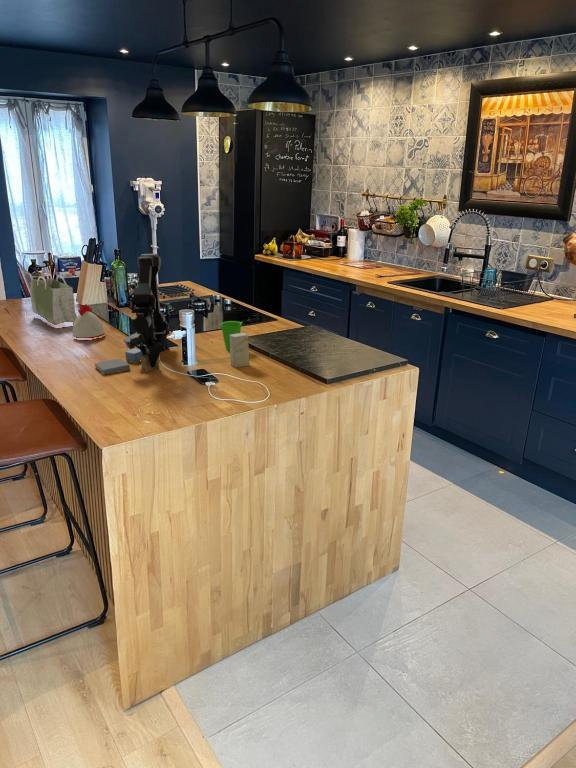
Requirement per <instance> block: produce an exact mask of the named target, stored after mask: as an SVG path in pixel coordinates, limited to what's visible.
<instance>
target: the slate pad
mask: <svg viewBox="0 0 576 768" xmlns="http://www.w3.org/2000/svg"><path fill="white" fill-rule="evenodd" d="M130 366H131V365H130V364H129V363H128V362H127V361H126V360H123V358H115V359H109V360H104V361H99V362H95V363H94V368H95V367H96V368H97V369H98V370H99V371H100V372H99V371H98V370H97V369H96V368H95V369H96V370H97V371H98V372H99V373H100V374H102V373H103V374H107V375H109V374H108V373H111V374H114V373H113V372H116V373H119V372H118V371H121V372H125V371H124V370H126V371H130V370H131V369H130V368H131V367H130ZM103 374H102V375H103Z"/></svg>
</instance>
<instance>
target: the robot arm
mask: <svg viewBox="0 0 576 768" xmlns="http://www.w3.org/2000/svg"><path fill="white" fill-rule="evenodd" d="M136 259H137V267H138V268H139V270H138V272H139V273H138V285H137V286H136V287H135V288H134V290H133V295H131V314H135V318H133V319H134V320H133V321H132V328H133V330H134V331H135V333H132V334H131V335H129V336H127V337H125V338H124V339H123V341H124V343H125V346H126V347H127V348H128V349H129V350H132V349H139V350H141V353H142V355H144V354H148V356H149V360H150V364H151V367H152V368H153V367H155V364H156V362H157V359H158V360H159V357H160V354H161V353H163V352H166V350H168V349H170V347H169V346H168V338H167V336H168V335H170V327H169V324H168V322H167V320H166V317H165V315H164V313H163V312H162V311H161V305H160V296H159V294H160V293H159V285H158V283H159V282H158V273H159V272H160V270H161V265H162V258H161V256H159V255H158V254H157V253H143V254H140V256H137V257H136Z"/></svg>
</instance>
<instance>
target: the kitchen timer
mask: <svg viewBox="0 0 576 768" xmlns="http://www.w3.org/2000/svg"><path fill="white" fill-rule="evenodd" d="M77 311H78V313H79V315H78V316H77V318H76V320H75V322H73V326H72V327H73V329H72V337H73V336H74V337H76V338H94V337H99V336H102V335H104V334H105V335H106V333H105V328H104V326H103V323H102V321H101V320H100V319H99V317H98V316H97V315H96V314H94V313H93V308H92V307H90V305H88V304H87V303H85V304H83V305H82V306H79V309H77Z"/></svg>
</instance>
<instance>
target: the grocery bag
mask: <svg viewBox="0 0 576 768" xmlns="http://www.w3.org/2000/svg"><path fill="white" fill-rule="evenodd" d="M59 278H61V280H62V282H63V283H62V282H60V281H59V280H58V279H59ZM29 286H30V287H29V294H30V301H31V302H30V303H31V309H32V313H33V312H34V313H36V314H38V315H40V316H41V317H43V318H45V319H46V320H47V321H48V322H50V323H52V324H54V325H57V324H60V323H64V322H75V320H76V318H77V317H78V316H77V314H76V307H75V296H74V295H75V294H74V288H73V286H71V285H68V284H67V282H66V280H65V278H64V277H63V276H62V275H59V274H58V275H57V276H56V278H55V279H54V278H51V277H48V278H45V276H42V275H39V276H38V278H37V279H34V278H33V279H32V278H31V279H30V285H29Z"/></svg>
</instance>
